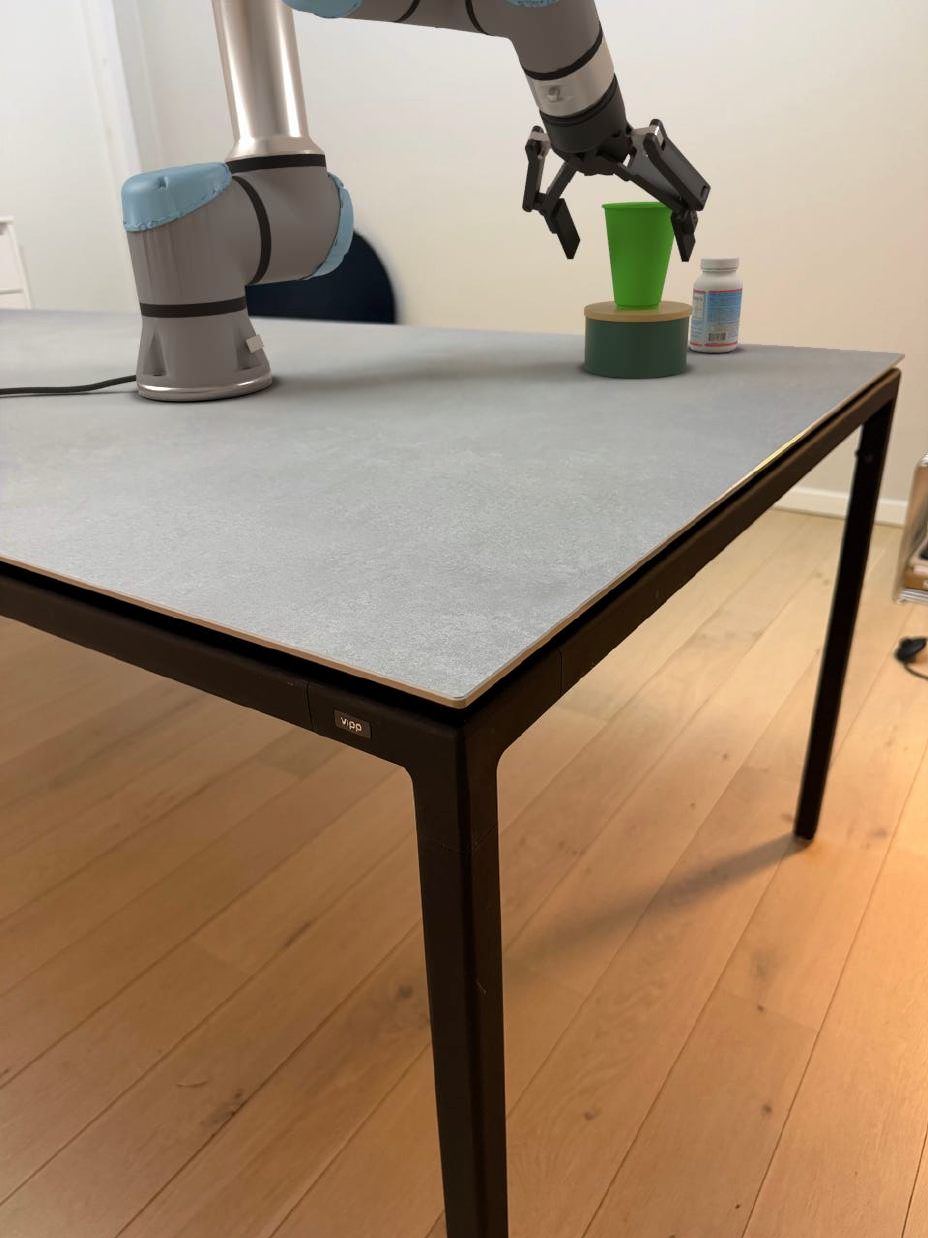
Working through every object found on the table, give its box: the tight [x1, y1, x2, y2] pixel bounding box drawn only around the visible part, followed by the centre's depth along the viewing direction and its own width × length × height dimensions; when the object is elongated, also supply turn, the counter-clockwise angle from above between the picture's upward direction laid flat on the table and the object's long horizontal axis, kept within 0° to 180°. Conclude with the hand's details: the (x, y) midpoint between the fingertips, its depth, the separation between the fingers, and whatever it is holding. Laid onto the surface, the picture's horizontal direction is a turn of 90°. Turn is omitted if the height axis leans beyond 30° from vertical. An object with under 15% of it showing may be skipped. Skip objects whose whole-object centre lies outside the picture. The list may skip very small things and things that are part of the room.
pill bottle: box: [689, 254, 744, 354], centre depth 117 cm, size 6×6×11 cm
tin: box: [583, 299, 692, 379], centre depth 109 cm, size 12×12×7 cm
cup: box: [601, 201, 675, 310], centre depth 105 cm, size 9×9×11 cm
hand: (629, 250), depth 102 cm, fingers open, 13 cm apart
